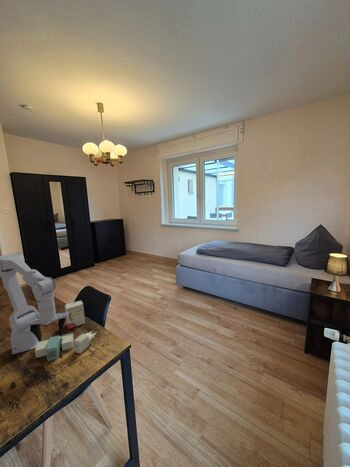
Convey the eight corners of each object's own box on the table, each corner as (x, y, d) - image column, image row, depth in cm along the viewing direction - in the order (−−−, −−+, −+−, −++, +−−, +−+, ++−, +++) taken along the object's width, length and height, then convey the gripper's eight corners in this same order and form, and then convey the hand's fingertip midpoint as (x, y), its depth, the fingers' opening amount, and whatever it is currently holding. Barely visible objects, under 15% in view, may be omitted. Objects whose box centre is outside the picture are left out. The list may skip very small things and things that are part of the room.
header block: (35, 358, 84) (34, 350, 83) (39, 347, 90) (38, 340, 89) (72, 348, 89) (71, 340, 89) (73, 339, 95) (72, 332, 95)
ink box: (67, 329, 103) (65, 308, 101) (66, 324, 107) (64, 304, 105) (85, 323, 107) (83, 303, 106) (83, 319, 111) (81, 300, 110)
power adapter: (91, 336, 97) (90, 325, 96) (99, 338, 95) (98, 327, 94) (72, 352, 87) (71, 340, 86) (81, 355, 85) (79, 343, 84)
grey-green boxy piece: (47, 362, 82) (45, 350, 81) (51, 348, 90) (49, 337, 89) (58, 359, 83) (56, 347, 82) (61, 345, 91) (59, 335, 90)
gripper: (22, 317, 74) (27, 349, 76) (65, 308, 80) (69, 338, 82) (28, 308, 81) (32, 337, 83) (67, 300, 86) (70, 328, 88)
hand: (51, 337), depth 83 cm, fingers open, 7 cm apart
